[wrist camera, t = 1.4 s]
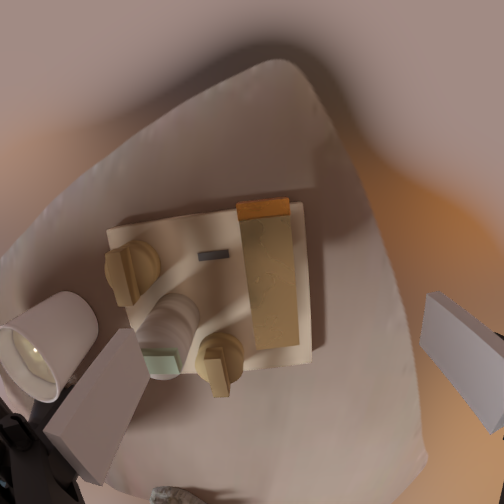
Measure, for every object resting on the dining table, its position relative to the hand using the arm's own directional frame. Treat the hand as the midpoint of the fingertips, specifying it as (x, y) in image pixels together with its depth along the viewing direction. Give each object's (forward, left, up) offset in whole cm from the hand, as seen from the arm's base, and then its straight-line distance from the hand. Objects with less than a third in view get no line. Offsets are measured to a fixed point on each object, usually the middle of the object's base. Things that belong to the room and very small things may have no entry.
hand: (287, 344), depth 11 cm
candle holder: (-26, -7, -19) cm, 33 cm away
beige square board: (-6, -5, -19) cm, 20 cm away
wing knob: (0, 0, -16) cm, 16 cm away
